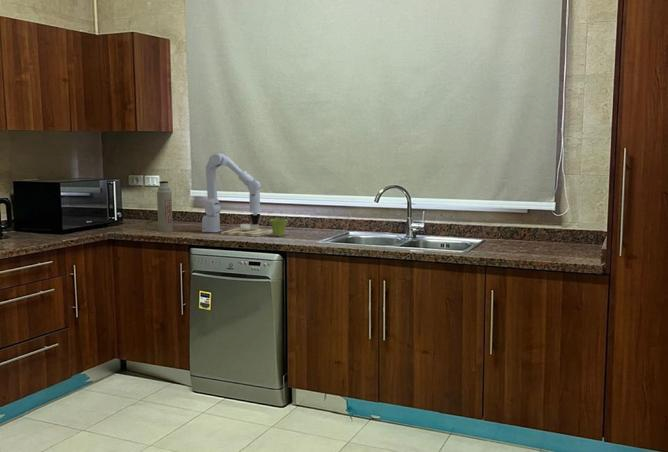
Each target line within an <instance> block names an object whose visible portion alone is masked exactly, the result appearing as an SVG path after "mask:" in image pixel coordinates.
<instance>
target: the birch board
mask: <svg viewBox="0 0 668 452" xmlns="http://www.w3.org/2000/svg"><path fill="white" fill-rule="evenodd" d="M268 234H273V231H272V229H263V228H262V229H261V228H259V229H250V230H249V231H241V230H240V227H236V228H233V229H228V230H225V231H224V230H223V231H220V235H221V236H235V237H236V236H237V237H252V236H256V237H257V236H258V237H260V236H261V235H262V236H266V235H268ZM262 236H261V237H262ZM256 237H255V238H256Z"/></svg>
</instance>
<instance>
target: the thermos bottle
mask: <svg viewBox="0 0 668 452" xmlns="http://www.w3.org/2000/svg"><path fill="white" fill-rule="evenodd" d="M158 183H159V186H158V187H157V191H156V201H157V202H156V203H157V205H156V206H157V230H158V232H171V231H173V230H174V228H173V226H174V225H173V202H172V201H173V200H172V199H173V198H172V191H171V187H170V186H169V181H167V180H164V181H158Z"/></svg>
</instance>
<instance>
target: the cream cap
mask: <svg viewBox="0 0 668 452" xmlns="http://www.w3.org/2000/svg"><path fill="white" fill-rule="evenodd" d="M239 228H240V230H250V229H260V224H257V225H253V224H251V223H240V226H239Z"/></svg>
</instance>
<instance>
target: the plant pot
mask: <svg viewBox="0 0 668 452" xmlns="http://www.w3.org/2000/svg"><path fill="white" fill-rule="evenodd" d="M269 221H270V224H271V230H272V235H273V237H283V236H285V234H286V226H287V222H288V219H286V218H271V219H269Z"/></svg>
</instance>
